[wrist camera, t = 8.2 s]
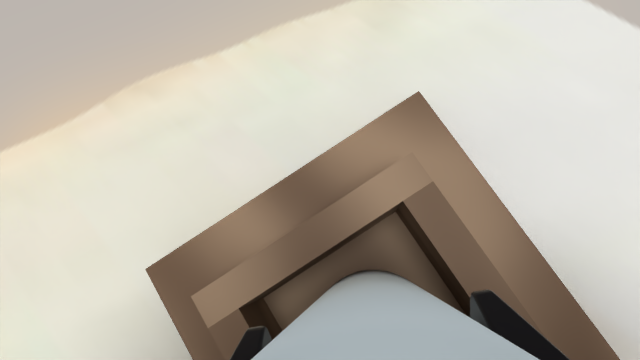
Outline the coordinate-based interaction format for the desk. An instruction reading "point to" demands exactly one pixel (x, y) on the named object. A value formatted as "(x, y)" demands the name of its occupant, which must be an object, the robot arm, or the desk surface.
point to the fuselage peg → (386, 326)
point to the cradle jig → (367, 242)
